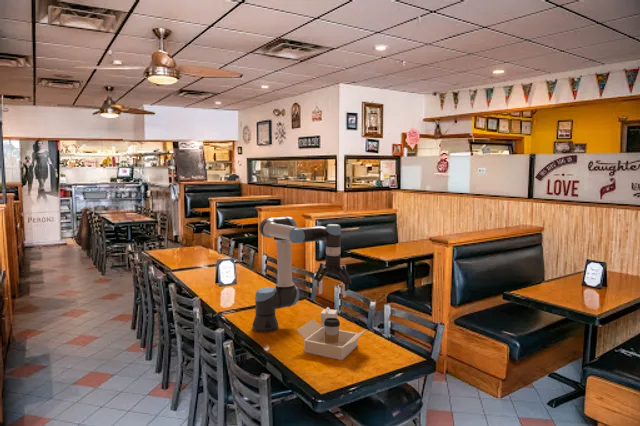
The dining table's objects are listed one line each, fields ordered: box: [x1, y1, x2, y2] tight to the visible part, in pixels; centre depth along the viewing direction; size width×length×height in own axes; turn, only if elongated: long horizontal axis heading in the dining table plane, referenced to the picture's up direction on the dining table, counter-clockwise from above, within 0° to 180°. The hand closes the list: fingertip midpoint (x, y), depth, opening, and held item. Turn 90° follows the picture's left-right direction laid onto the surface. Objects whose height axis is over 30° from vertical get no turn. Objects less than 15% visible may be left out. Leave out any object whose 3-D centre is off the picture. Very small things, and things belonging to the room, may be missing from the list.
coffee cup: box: [324, 317, 341, 346], centre depth 236 cm, size 8×8×15 cm
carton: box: [303, 327, 359, 361], centre depth 237 cm, size 21×22×6 cm
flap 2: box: [344, 328, 369, 347], centre depth 230 cm, size 6×19×1 cm
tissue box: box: [320, 306, 338, 328], centre depth 262 cm, size 9×8×13 cm
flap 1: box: [296, 318, 321, 340], centre depth 242 cm, size 6×19×1 cm
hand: (332, 295), depth 234 cm, fingers open, 13 cm apart
